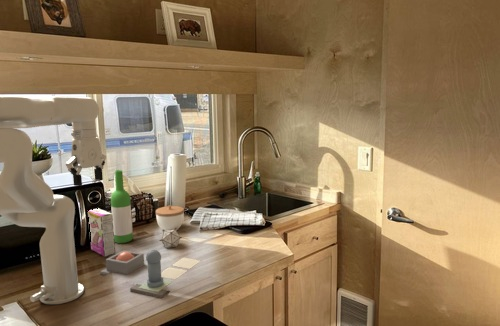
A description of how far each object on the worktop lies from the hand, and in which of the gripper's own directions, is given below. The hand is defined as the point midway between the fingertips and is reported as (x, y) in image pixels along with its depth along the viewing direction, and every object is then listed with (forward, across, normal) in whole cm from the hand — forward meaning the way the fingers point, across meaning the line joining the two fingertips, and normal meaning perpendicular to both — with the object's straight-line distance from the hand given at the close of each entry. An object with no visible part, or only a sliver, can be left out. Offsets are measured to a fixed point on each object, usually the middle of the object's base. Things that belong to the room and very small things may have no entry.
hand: (88, 182), depth 146 cm
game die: (+31, +23, -17) cm, 42 cm away
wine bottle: (+31, +23, +7) cm, 39 cm away
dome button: (+29, 0, -14) cm, 32 cm away
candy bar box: (+31, +10, +6) cm, 33 cm away
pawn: (+29, -7, -32) cm, 44 cm away
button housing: (+30, 0, -14) cm, 33 cm away
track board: (+30, +2, -32) cm, 44 cm away
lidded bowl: (+31, +43, -3) cm, 53 cm away
